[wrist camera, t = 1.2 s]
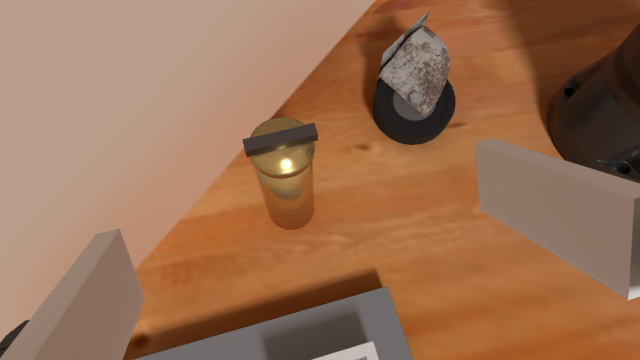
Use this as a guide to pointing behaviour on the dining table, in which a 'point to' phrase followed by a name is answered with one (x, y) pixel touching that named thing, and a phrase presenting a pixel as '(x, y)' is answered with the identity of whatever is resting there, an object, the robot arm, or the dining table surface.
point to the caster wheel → (414, 87)
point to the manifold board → (310, 335)
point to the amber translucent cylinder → (285, 168)
